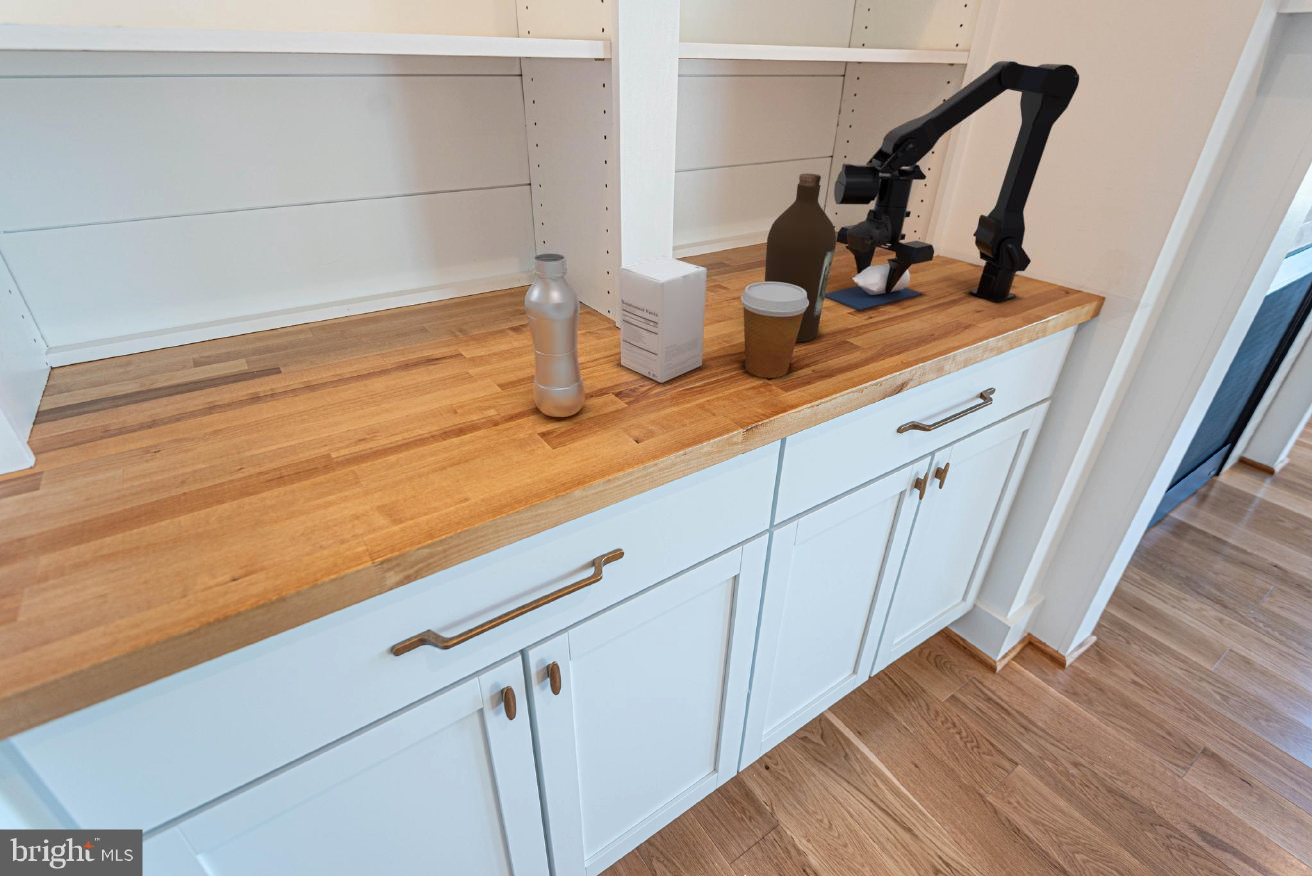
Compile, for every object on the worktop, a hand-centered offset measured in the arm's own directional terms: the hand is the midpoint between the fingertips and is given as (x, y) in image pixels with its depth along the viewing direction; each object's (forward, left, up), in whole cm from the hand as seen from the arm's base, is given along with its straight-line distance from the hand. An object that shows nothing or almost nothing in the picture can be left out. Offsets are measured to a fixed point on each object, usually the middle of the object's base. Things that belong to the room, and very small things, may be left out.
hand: (874, 287), depth 124 cm
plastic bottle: (+73, +11, -2) cm, 74 cm away
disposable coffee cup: (+41, +15, -2) cm, 44 cm away
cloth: (0, 0, -2) cm, 2 cm away
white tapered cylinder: (0, 0, -1) cm, 1 cm away
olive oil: (+28, +6, -2) cm, 29 cm away
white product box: (+54, +6, -2) cm, 54 cm away
